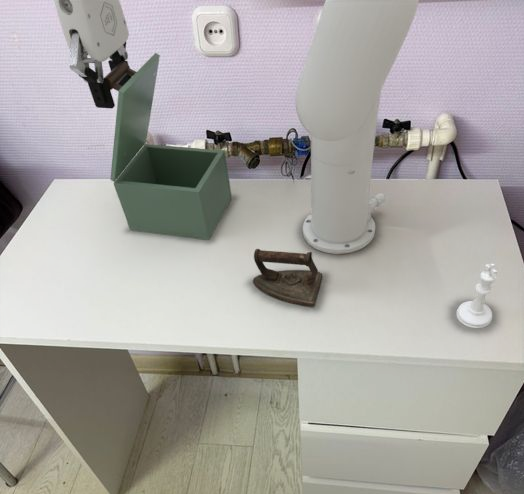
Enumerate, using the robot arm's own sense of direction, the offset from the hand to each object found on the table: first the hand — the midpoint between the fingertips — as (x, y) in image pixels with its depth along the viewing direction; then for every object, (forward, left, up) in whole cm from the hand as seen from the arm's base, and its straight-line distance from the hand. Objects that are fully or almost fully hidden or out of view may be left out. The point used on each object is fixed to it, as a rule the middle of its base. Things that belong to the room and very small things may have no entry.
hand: (115, 95), depth 79 cm
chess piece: (-21, +58, -22) cm, 66 cm away
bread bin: (-4, +5, -22) cm, 23 cm away
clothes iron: (-5, +34, -22) cm, 41 cm away
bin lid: (-1, +2, -4) cm, 5 cm away
